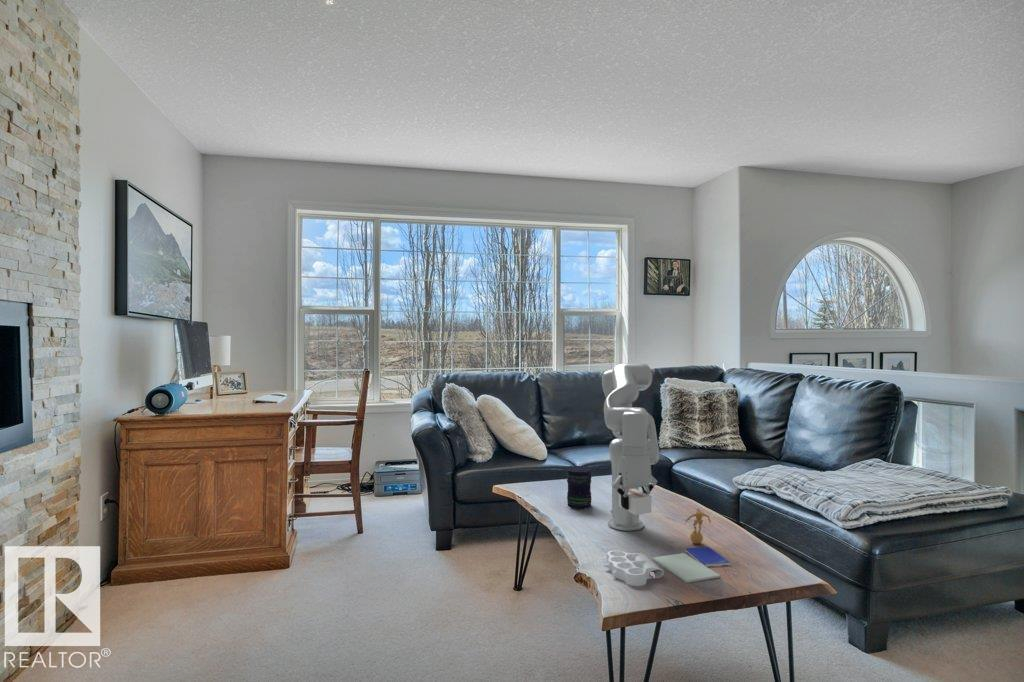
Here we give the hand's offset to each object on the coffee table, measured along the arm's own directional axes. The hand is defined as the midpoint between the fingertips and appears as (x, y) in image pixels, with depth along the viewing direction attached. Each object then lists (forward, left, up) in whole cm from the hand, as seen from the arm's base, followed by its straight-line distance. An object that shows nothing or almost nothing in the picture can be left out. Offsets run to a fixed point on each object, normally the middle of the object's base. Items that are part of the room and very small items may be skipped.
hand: (634, 506), depth 171 cm
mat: (+15, +8, -14) cm, 22 cm away
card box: (0, 0, -1) cm, 1 cm away
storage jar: (-51, +4, -15) cm, 53 cm away
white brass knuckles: (+12, -8, -15) cm, 21 cm away
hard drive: (+11, +19, -15) cm, 26 cm away
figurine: (0, +23, -15) cm, 27 cm away
